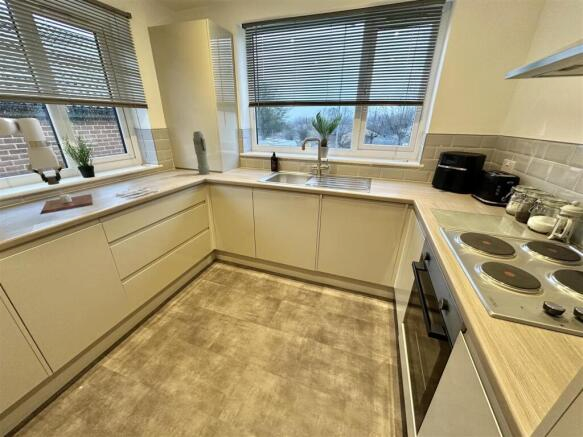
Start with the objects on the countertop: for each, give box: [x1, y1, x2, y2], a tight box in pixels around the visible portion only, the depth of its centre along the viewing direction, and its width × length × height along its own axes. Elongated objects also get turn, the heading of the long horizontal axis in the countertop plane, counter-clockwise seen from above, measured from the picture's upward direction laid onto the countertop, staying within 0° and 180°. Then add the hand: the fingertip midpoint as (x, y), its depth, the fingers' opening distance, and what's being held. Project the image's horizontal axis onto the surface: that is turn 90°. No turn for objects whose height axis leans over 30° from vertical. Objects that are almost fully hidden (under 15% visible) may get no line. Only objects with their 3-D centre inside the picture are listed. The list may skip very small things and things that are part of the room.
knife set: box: [114, 181, 178, 199], centre depth 161 cm, size 26×35×1 cm
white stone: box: [59, 193, 72, 203], centre depth 135 cm, size 4×4×4 cm
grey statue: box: [192, 130, 210, 176], centre depth 203 cm, size 9×12×35 cm
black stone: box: [45, 175, 60, 186], centre depth 125 cm, size 4×4×4 cm
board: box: [39, 193, 94, 215], centre depth 136 cm, size 22×22×2 cm
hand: (52, 180), depth 125 cm, fingers closed on black stone, 4 cm apart
